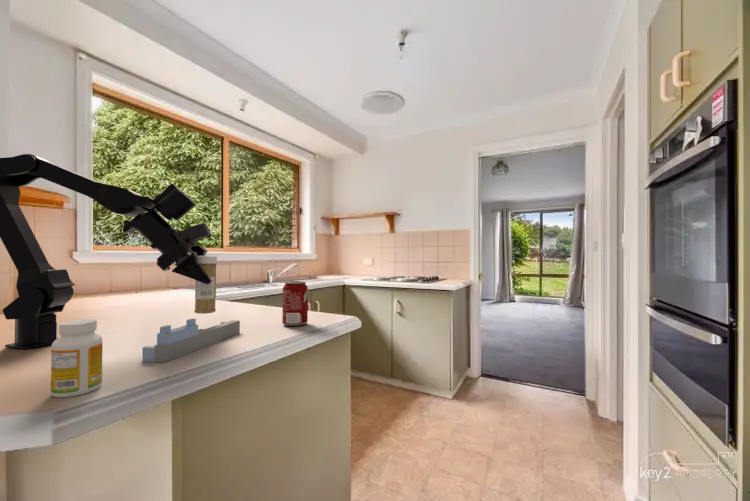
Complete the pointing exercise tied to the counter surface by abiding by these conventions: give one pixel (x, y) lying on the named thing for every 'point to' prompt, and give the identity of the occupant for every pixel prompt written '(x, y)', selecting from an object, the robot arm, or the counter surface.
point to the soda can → (295, 303)
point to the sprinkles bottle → (206, 286)
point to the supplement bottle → (76, 359)
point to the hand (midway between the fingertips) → (212, 282)
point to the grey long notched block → (186, 339)
